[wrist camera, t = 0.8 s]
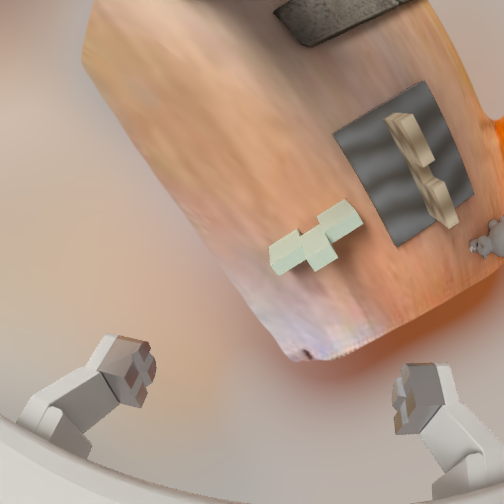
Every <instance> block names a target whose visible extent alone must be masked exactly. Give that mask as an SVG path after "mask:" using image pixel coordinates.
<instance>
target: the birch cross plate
mask: <svg viewBox="0 0 504 504" xmlns="http://www.w3.org/2000/svg"><path fill="white" fill-rule="evenodd" d="M332 135H333V136H334V138H335V140H336V141H337V143H338V144H339V146H340V148H341V149H342V151H343V152H344V154H345V156H346V157H347V159H348V161H349V162H350V164H351V166H352V167H353V169H354V171H355V172H356V174H357V176H358V178H359V179H360V181H361V183H362V185H363V186H364V188H365V190H366V192H367V194H368V195H369V197H370V199H371V201H372V203H373V204H374V206H375V208H376V210H377V212H378V214H379V216H380V218H381V219H382V221H383V223H384V225H385V227H386V229H387V231H388V233H389V235H390V237H391V239H392V241H393V243H394V245H395V246H396V247H398V246H399V245H401V244H402V243H404V242H406V241H407V240H409V239H410V238H412V237H413V236H415V235H416V234H418V233H419V232H421V231H422V230H424V229H425V228H427V227H428V226H430V225H431V224H433V223H434V222H436V221H437V220H438V221H439V222H440V223H442V224H443V225H444V226H445V227H447V228H448V229H450V228H451V227H453V226H454V225H456V224H457V223H459V220H458V217H457V214H456V211H455V208H456V207H457V206H459V205H460V204H461V203H463V202H464V201H466V200H467V199H468V198H470V197H471V196H473V195H474V192H473V189H472V186H471V183H470V180H469V178H468V175H467V172H466V169H465V167H464V164H463V162H462V159H461V157H460V154H459V152H458V149H457V147H456V144H455V142H454V140H453V137H452V135H451V133H450V130H449V128H448V126H447V124H446V122H445V119H444V117H443V115H442V113H441V111H440V109H439V107H438V105H437V103H436V101H435V99H434V97H433V95H432V93H431V91H430V89H429V88H428V86H427V84H426V82H425V81H421V82H419V83H417V84H415V85H413V86H412V87H410V88H408V89H406V90H405V91H403V92H401V93H399V94H398V95H396V96H394V97H393V98H391V99H389V100H387V101H386V102H384V103H382V104H381V105H379V106H377V107H376V108H374V109H372V110H371V111H369V112H367V113H366V114H364V115H362V116H361V117H359V118H357V119H356V120H354V121H352V122H351V123H349V124H347V125H346V126H344V127H343V128H341V129H339V130H338V131H336V132H335V133H333V134H332Z"/></svg>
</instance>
